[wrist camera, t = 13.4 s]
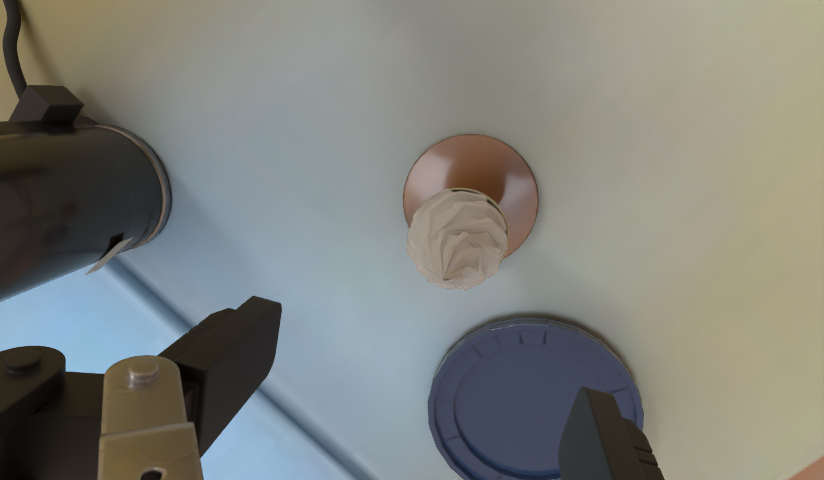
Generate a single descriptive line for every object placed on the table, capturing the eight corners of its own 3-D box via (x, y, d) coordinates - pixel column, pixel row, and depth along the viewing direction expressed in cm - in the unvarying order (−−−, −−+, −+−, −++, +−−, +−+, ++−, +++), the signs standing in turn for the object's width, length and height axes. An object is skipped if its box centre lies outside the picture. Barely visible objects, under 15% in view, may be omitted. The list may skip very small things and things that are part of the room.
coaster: (378, 202, 36) (376, 204, 35) (467, 104, 33) (467, 104, 32) (471, 289, 36) (470, 292, 36) (567, 200, 33) (568, 201, 33)
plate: (392, 397, 40) (387, 411, 38) (532, 272, 35) (534, 281, 33) (528, 520, 41) (529, 539, 39) (682, 414, 36) (691, 429, 34)
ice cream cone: (486, 152, 33) (474, 196, 19) (520, 220, 34) (534, 313, 19) (418, 187, 34) (359, 253, 20) (453, 252, 35) (420, 359, 21)
